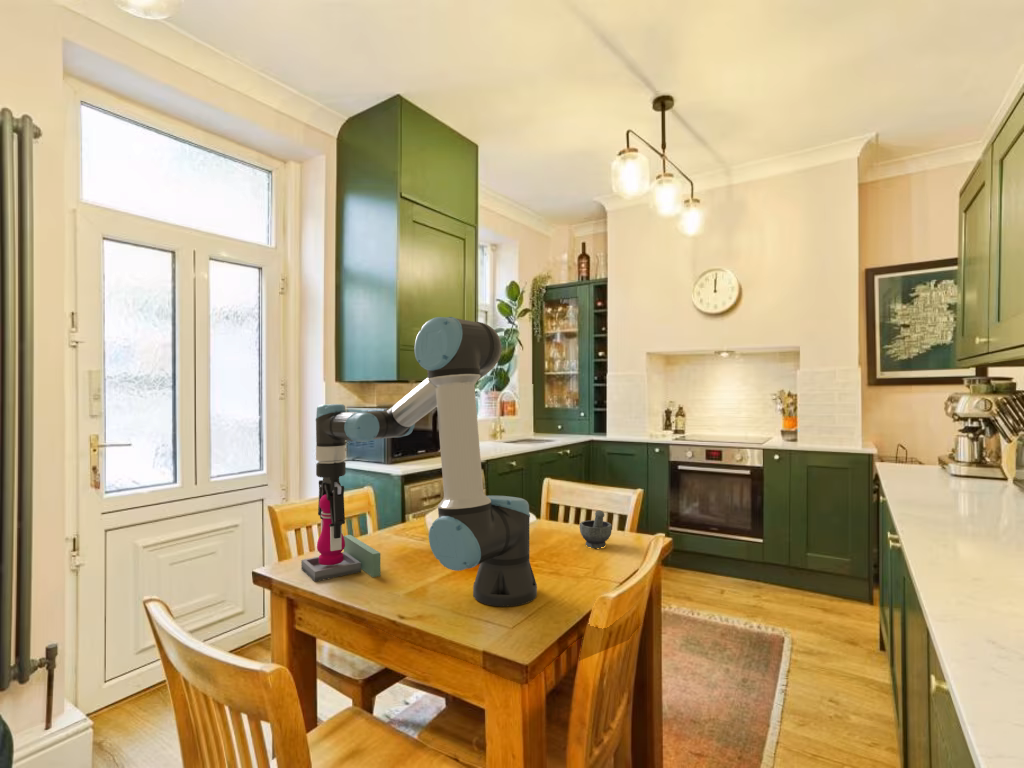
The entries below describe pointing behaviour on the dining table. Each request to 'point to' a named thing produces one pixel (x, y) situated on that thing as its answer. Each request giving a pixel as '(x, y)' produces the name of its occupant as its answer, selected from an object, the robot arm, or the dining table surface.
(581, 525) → the mortar and pestle
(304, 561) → the tray
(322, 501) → the pepper mill
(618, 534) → the dining table surface
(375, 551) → the board
